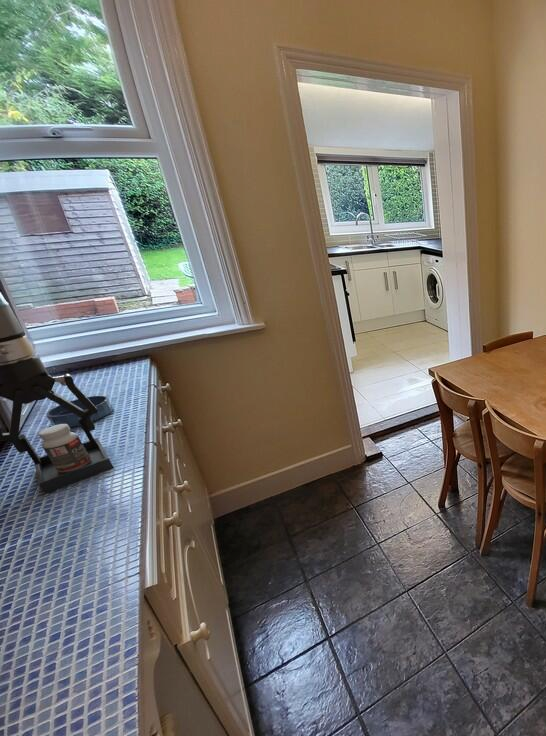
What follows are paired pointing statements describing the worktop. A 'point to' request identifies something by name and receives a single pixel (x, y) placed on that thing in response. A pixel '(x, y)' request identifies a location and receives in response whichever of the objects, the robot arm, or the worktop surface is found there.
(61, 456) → the pill bottle
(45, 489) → the tray
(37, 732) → the worktop surface
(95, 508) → the worktop surface
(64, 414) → the bowl
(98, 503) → the worktop surface
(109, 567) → the worktop surface
